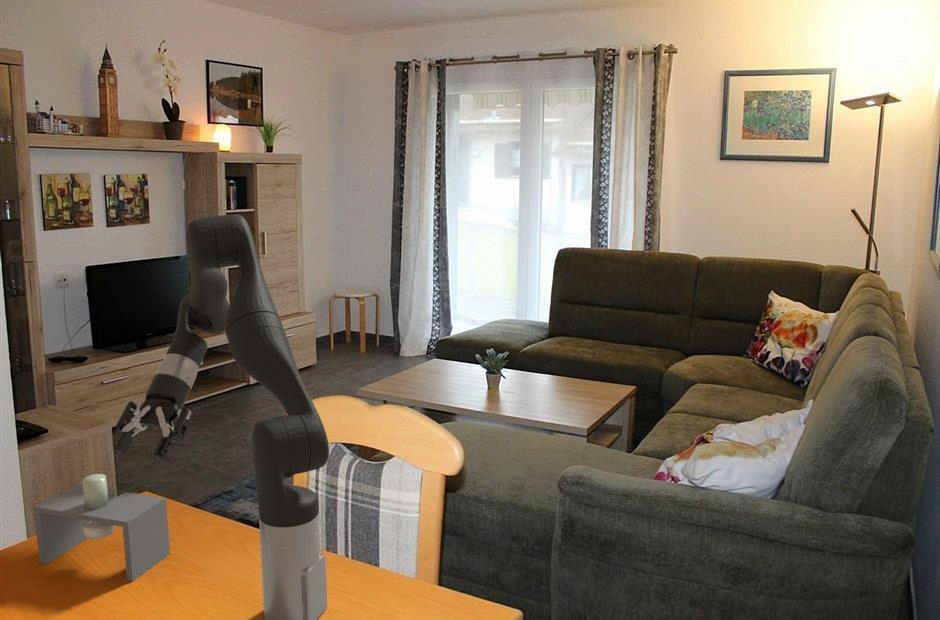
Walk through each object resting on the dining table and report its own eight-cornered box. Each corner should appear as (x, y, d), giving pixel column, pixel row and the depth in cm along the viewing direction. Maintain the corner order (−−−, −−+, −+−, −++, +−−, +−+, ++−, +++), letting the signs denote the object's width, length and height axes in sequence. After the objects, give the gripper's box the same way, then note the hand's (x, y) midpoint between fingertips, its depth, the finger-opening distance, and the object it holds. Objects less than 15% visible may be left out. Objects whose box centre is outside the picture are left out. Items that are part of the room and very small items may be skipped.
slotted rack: (170, 553, 147) (165, 498, 145) (132, 581, 138) (127, 522, 135) (81, 538, 153) (76, 484, 150) (39, 563, 143) (33, 506, 141)
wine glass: (120, 528, 145) (115, 474, 143) (101, 540, 140) (96, 485, 138) (97, 524, 146) (92, 471, 144) (77, 537, 141) (72, 482, 139)
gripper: (133, 369, 159) (96, 443, 151) (194, 374, 155) (160, 451, 147) (153, 387, 165) (118, 459, 157) (212, 393, 161) (180, 467, 153)
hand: (139, 455), depth 152 cm, fingers open, 8 cm apart
